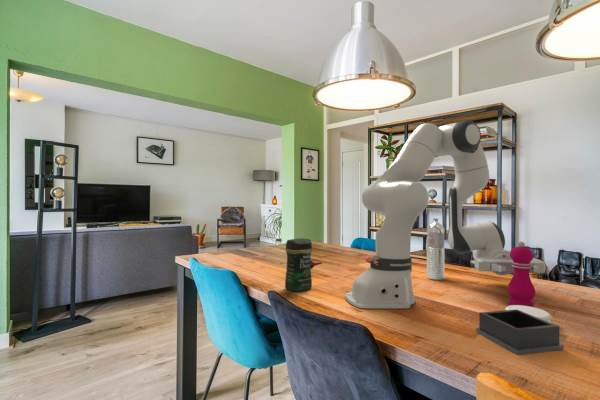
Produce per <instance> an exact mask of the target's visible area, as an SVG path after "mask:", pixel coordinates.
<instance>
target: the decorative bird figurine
mask: <svg viewBox="0 0 600 400" xmlns="http://www.w3.org/2000/svg"><path fill="white" fill-rule="evenodd" d="M322 264H323V262H320V261H319V262H315V261H313V260H312V259H310V266H311V270H312V269H314V267H315V266H318V265H322Z"/></svg>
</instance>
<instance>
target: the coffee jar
mask: <svg viewBox="0 0 600 400" xmlns="http://www.w3.org/2000/svg"><path fill="white" fill-rule="evenodd" d="M312 244H313V243H312V240H311V239H309V238H292V239H287V240H286V243H285V253H286V272H285V282H284V286H285V289H286V290H287V291H289V292H291V291H292V292H303V291H304V292H305V291H308V290H311V289H312V283H313V282H312V280H313V279H312V272H311V271H312V269H311V266H310V260H311V256H312V251H313V245H312Z"/></svg>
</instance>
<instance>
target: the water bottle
mask: <svg viewBox="0 0 600 400" xmlns="http://www.w3.org/2000/svg"><path fill="white" fill-rule="evenodd" d="M426 236H427V237H426V278H427V279H429V280H433V281H443V280H444V279H445V271H446V270H445V266H446V265H445V263H446V262H445V261H446V259H445V252H446V251H445V227H444V226H443V225H442V224H441V222H439V218H433V222H431V223H430V224H429V225H427V227H426Z"/></svg>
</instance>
